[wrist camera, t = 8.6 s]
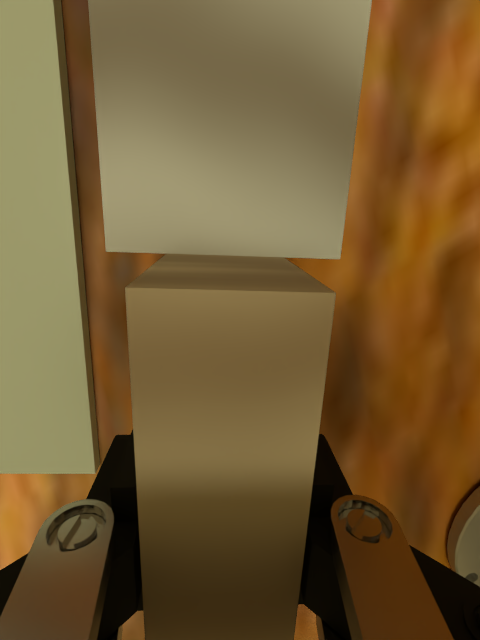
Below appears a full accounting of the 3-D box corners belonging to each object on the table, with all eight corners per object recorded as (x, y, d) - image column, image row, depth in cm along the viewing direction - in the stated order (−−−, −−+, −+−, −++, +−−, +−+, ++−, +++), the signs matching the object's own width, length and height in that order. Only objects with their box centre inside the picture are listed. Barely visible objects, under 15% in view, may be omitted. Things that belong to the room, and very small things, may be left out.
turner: (290, 608, 14) (328, 811, 9) (138, 614, 14) (95, 830, 9) (365, -57, 8) (592, -465, 3) (93, -85, 7) (-123, -604, 3)
